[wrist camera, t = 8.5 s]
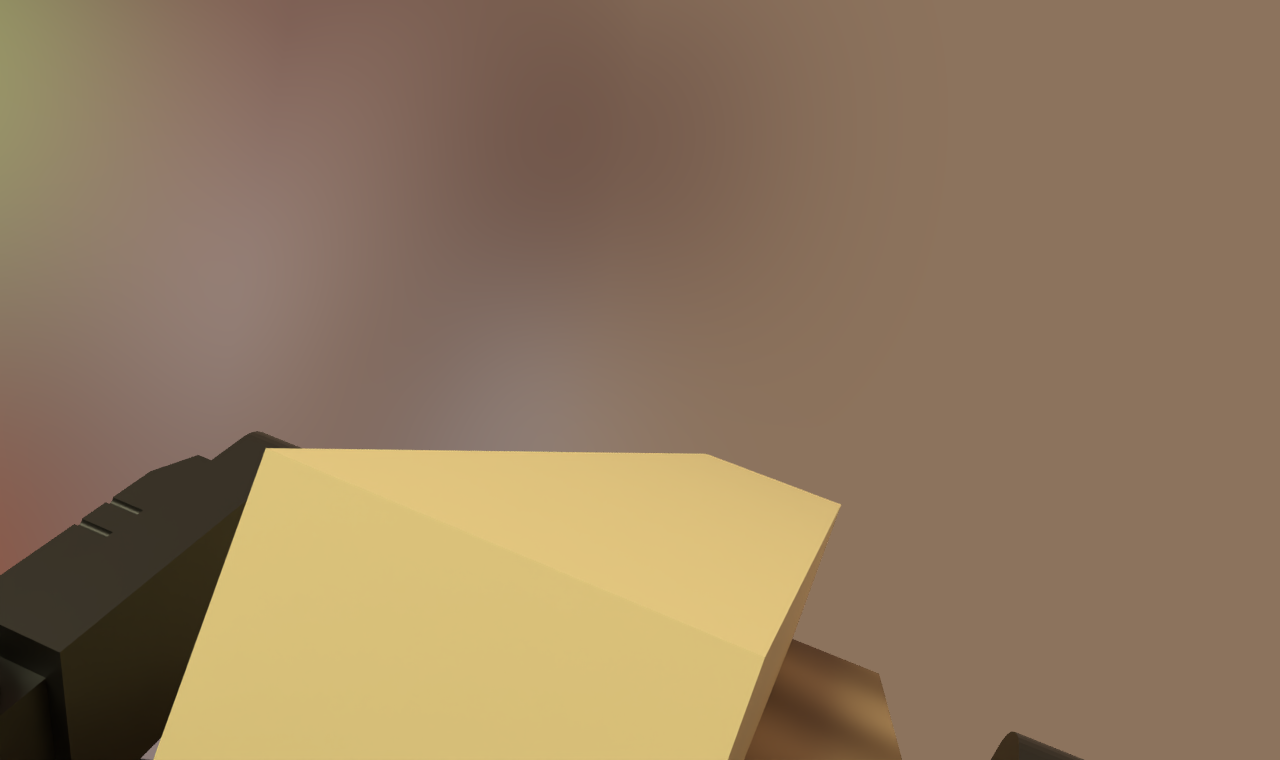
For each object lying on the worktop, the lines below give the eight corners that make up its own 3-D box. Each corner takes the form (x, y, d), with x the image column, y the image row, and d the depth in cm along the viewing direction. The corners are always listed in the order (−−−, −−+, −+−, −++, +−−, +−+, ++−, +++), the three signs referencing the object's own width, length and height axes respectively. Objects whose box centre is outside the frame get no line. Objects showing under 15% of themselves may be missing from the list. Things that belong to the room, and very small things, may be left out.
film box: (560, 1219, 7) (765, 657, 7) (86, 943, 8) (265, 448, 8) (791, 640, 28) (841, 504, 28) (658, 585, 29) (706, 453, 29)
